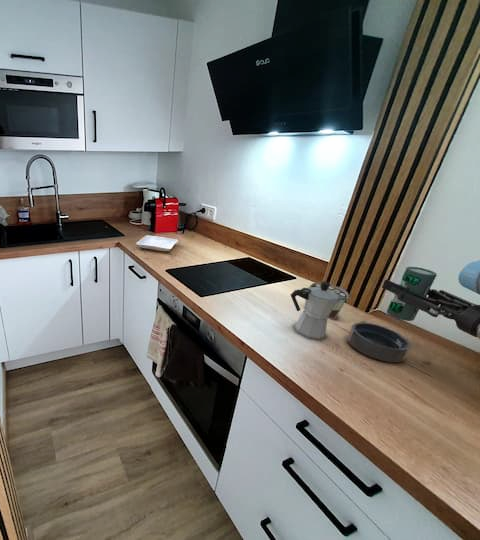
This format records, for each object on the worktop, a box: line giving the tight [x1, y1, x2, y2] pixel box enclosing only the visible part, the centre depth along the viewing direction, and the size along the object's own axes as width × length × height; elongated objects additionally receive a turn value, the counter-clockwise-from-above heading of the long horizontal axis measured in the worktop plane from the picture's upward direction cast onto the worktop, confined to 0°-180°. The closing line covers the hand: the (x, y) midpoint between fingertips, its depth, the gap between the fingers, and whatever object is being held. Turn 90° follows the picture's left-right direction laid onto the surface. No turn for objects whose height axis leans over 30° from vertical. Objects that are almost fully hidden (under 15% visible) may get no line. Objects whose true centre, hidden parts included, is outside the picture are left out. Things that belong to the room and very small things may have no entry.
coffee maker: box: [290, 281, 345, 341], centre depth 91 cm, size 15×9×18 cm, turn 76°
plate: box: [135, 234, 180, 252], centre depth 171 cm, size 21×21×3 cm
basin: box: [346, 322, 411, 363], centre depth 86 cm, size 13×13×5 cm
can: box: [386, 266, 438, 322], centre depth 85 cm, size 6×6×15 cm
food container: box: [309, 282, 350, 321], centre depth 105 cm, size 12×6×10 cm, turn 34°
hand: (394, 283), depth 89 cm, fingers closed on can, 6 cm apart
